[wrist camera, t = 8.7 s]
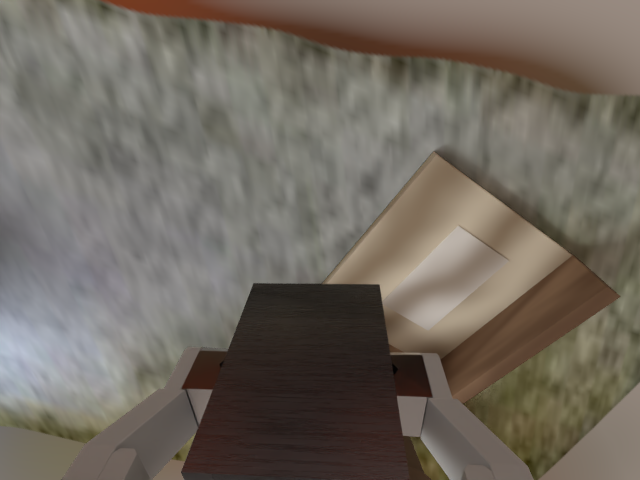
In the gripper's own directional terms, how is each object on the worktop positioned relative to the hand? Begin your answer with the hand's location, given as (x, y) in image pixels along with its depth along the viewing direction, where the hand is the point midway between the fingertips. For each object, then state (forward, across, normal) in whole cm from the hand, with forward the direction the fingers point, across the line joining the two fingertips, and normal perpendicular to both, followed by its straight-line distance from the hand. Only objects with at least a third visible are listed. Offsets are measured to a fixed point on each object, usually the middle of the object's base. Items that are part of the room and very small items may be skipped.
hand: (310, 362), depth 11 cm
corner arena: (+18, -9, +10) cm, 22 cm away
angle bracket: (+3, 0, +4) cm, 5 cm away
